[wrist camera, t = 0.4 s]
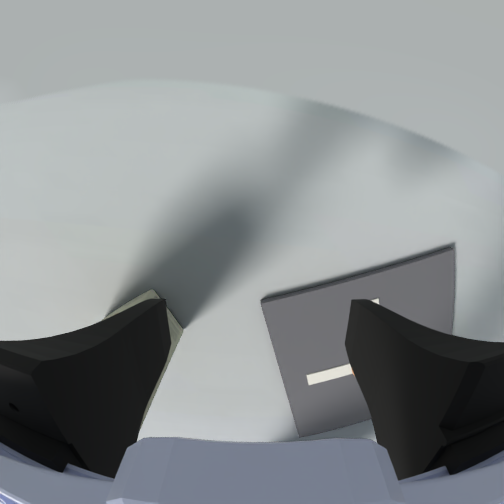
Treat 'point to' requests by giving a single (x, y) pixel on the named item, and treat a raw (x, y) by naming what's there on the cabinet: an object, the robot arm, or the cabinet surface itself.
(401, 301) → the rest pad
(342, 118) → the cabinet surface
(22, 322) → the cabinet surface
